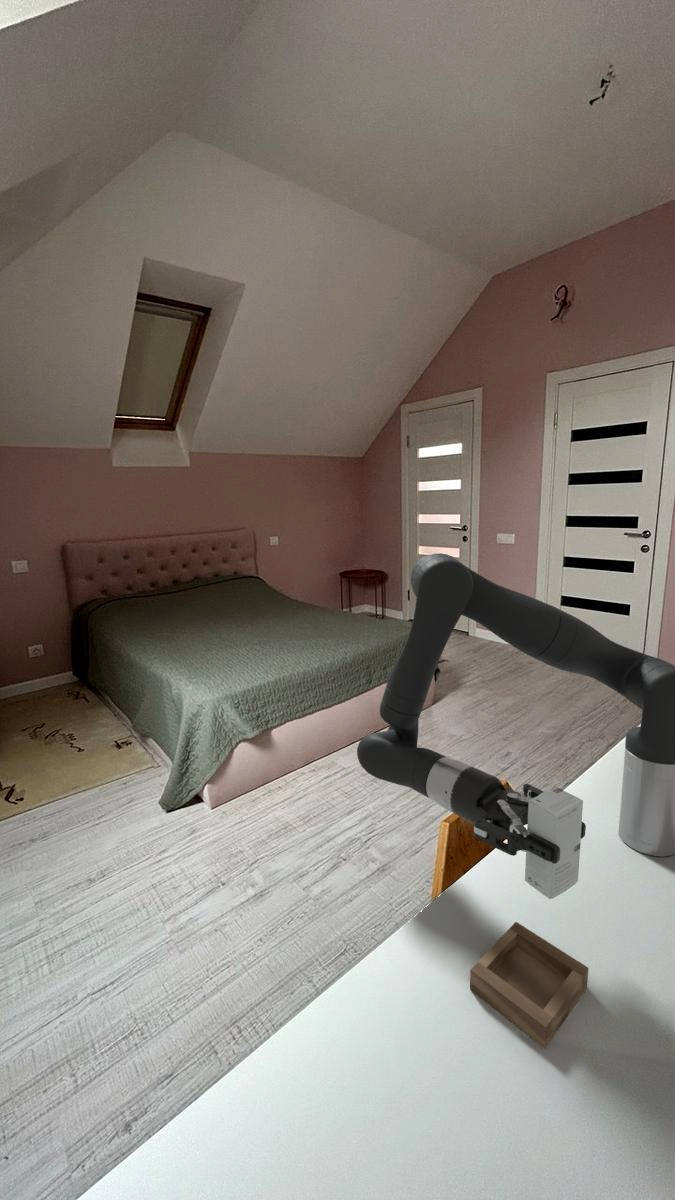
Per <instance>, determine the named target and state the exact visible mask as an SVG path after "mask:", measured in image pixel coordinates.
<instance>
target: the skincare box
mask: <svg viewBox="0 0 675 1200" xmlns="http://www.w3.org/2000/svg"><path fill="white" fill-rule="evenodd" d="M583 804H584V800H583V799H581V798H580V797H578V796H575V795H573V794H571V793H569V792H567V791H565V790H563V789H561V788H559V787H554V788H552V789H550V790H547V791H543V793H541V794H539V796H537V797H535V798H533V799H531V800H529V805H528V824H526V825H527V828H526V829H527V830H528V831H529V833H530V835H531V834H532V833H534V834H536V835H538V836H540V837H542V838H544V839H546V840H548V841H550V842H552V843H554V844H556V845H557V846H559V848H560V860H559V861H558V862H557V863H556V864H554V863H552V862H550V861H546V860H544V859H542V858H540V857H539V856H537V855H535V854H533V853H531V852H529V851H527V852H525V868H524V869H525V870H524V871H525V872H524V881H525V882H526V883H527V884H528V885H530V886H531V887H532V888H533V889H535V890H536V891H538V892H539V893H540V894H541V895H543V896H545V897H546V898H547V899H549V900H551V899H553V900H554V898H557V897H558V896H560V895H562V894H564V893H565V892H566V891H568V890H569V889H571V888H572V887H573V886H575V885H577V883H578V882H579V875H580V874H579V873H580V871H579V869H580V856H581V844H582V843H581V841H582V839H581V826H582V822H583V809H584V808H583V806H584V805H583Z"/></svg>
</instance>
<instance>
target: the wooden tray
mask: <svg viewBox="0 0 675 1200" xmlns="http://www.w3.org/2000/svg"><path fill="white" fill-rule="evenodd" d="M589 970H590V969H589V967H588V966H587V965H585V964H584V963H582V962H580V961H578V960H577V959H575V958H574V957H572V956H571V955H569V954H567V953H566V952H565V951H563V950H561V949H560V948H559V947H557V946H555V945H553V944H552V943H550V942H549V941H547V940H546V939H544V938H542V937H541V936H540V935H538V934H536V933H535V932H533V931H532V930H530V929H528V928H527V927H526V926H524V925H522V924H520V923H519V922H517V921H514V923H513V924H512V925H511V926H510V927H509V929H507V930H506V932H505V933H504V934H503V935H502V936H501V937H500V938H499V939H498V940H497V941H495V943H494V944H493V945H492V946H491V947H490V949H488V950H487V952H485V954H484V955H482V957H480V958H479V960H478V961H477V962H476V963H475V964H474V965H473V966H472V967H471V968H470V971H469V972H470V973H469V975H470V976H469V990H471V992H473V994H475V995H476V996H478V997H479V998H480V999H482V1000H483V1001H484V1002H485V1003H487V1004H488V1005H489V1006H491V1007H492V1008H493V1009H494V1011H497V1012H498V1013H499V1014H500V1015H501V1016H503V1017H504V1018H505V1019H506V1020H508V1022H510V1023H512V1024H513V1025H514V1026H516V1028H517V1029H519V1030H520V1031H521V1032H523V1033H524V1034H525V1035H527V1036H528V1037H529V1038H530V1039H531V1040H533V1042H535V1043H536V1044H537V1045H539V1046H540V1047H541V1048H542V1049H544V1050H546V1049H547V1047H548V1045H549V1044H550V1043H551V1041H552V1040H553V1038H554V1036H555V1035H556V1034H557V1032H558V1031H559V1030H560V1028H561V1027H562V1025H563V1024H564V1022H565V1021H566V1020H567V1018H568V1016H569V1014H570V1013H571V1012H572V1011H573V1009H574V1007H575V1006H576V1005H577V1003H578V1002H579V1000H580V999H581V998H582V996H583V994H584V993H585V992H586V990H587V988H588V982H589V981H588V980H589Z"/></svg>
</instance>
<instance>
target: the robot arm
mask: <svg viewBox="0 0 675 1200" xmlns="http://www.w3.org/2000/svg"><path fill="white" fill-rule="evenodd" d="M410 585H411V589H412V592H413V595H415V597H416V601H415V607H414V613H413V618H412V619H413V620H412V624H411V627H410V630H409V633H408V637H407V639H406V641H405V643H404V646H403V648H402V649H401V652H400V654H399V655H398V658H397V660H396V661H395V663H394V665H393V667H392V669H391V672H390V675H389V677H388V680H387V683H386V687H385V688H384V689H385V690H384V692H383V696H382V699H381V703H380V705H379V716H380V717H381V719H382V720H383V721H384V722H385V723H386V724H388V729H387V730H386V731H380V732H379V731H378V732H373V733H369V734H367V735H365V736H364V737H362V739H360V741H359V743H358V745H357V749H356V754H357V759H358V763H359V764H360V766H361V768H362V769H363V770H364V771H365V772H366V773H367V774H370V776H372V777H374V778H376V779H379V780H381V781H385V782H388V783H391V784H394V785H395V784H396V785H397V786H403V787H407V788H410V789H413V790H414V791H415V792H417V793H418V794H421V795H422V796H424V797H426V798H428V799H430V800H431V801H433V802H435V804H437V805H438V806H440V807H442V808H443V809H444V810H447V811H448V812H450V813H452V814H454V815H457V817H460V818H462V819H463V820H465V821H466V822H469V823H471V824H472V825H473V837H474V839H476V840H478V841H479V842H482V843H485V844H486V845H488V846H491V847H493V848H495V849H497V850H498V851H501V852H503V853H506V855H507V854H508V855H509V856H517V854H518V852H519V851H521V852H525V853H526V852H527V851H529V852H531V853H533V854H535V855H537V856H539V857H540V858H542V859H544V860H546V861H550V862H552V863H554V864H556V863H557V862H558V861H559V860H560V848H559V846H557V845H556V844H554V843H552V842H550V841H548V840H546V839H544V838H542V837H540V836H538V835H536V834H534V833H532V834H531V835H530V833H529V831H528V830H527V828H526V827H525V826H526V825H528V805H529V800H531V799H533V798H535V797H537V796H539V794H541V793H543V792H544V790H541V789H540V788H537V787H535V786H534V785H532V784H529V783H524V784H523V786H522V790H521V791H515V790H510V789H507V788H506V787H504V785H503V783H502V782H501V780H500V779H499V778H498V777H496V776H495V775H492V774H490V773H488V772H485V771H483V770H481V769H478V768H477V767H474V766H472V765H470V764H467V763H465V762H463V761H461V760H458V759H455V758H450V757H448V756H446V755H444V754H441V753H439V752H437V751H434V750H432V749H429V748H426V747H418V742H419V741H418V739H419V738H418V737H419V719H420V717H421V714H422V711H423V708H424V706H425V701H426V699H427V696H428V693H429V689H430V688H431V685H432V681H433V678H434V676H435V672H436V670H437V667H438V664H439V661H440V660H441V657H442V655H443V652H444V650H445V648H446V645H447V643H448V641H449V639H450V637H451V635H452V633H453V631H454V629H455V628H456V625H457V623H458V622H459V620H460V618H461V617H462V616H464V617H466V618H468V619H470V620H472V621H474V622H476V623H478V624H480V625H481V626H483V627H484V628H486V629H487V630H488V631H490V632H491V633H493V634H494V635H496V636H497V637H498V638H500V639H501V640H502V641H504V642H505V643H507V644H508V645H510V646H512V647H514V648H515V649H517V650H519V651H520V652H521V653H523V654H526V655H527V656H529V657H531V658H533V659H535V660H537V661H539V662H541V663H544V664H546V665H548V666H550V667H553V668H556V669H558V670H561V671H563V672H567V673H572V674H577V675H581V676H586V677H588V678H589V677H590V678H591V679H593V680H595V681H598V682H600V683H602V684H603V685H605V686H606V687H608V688H610V689H611V690H614V691H615V692H616V693H618V694H620V695H621V696H623V697H624V698H625V699H627V700H628V701H629V702H630V703H632V704H633V705H634V706H636V707H637V708H638V709H641V711H642V712H641V713H642V714H641V720H640V726H634V727H632V728H630V729H629V730H628V731H627V732H626V735H625V741H624V742H625V745H624V758H623V759H624V760H623V773H622V784H621V797H620V809H619V810H620V811H619V820H618V836H619V838H620V839H621V841H623V843H625V844H626V845H627V846H628V847H630V848H631V849H633V850H635V851H637V852H640V853H642V854H645V855H649V856H654V857H669V856H673V855H674V854H675V665H674V664H672V663H670V662H668V661H666V660H663V658H662V659H661V658H659V657H655V656H652V655H650V654H646V653H644V652H643V653H642V652H640V651H637V650H635V649H631V648H628V647H626V646H624V645H622V644H619V643H617V642H615V641H613V640H611V639H609V638H608V637H606V636H605V635H604V634H602V633H601V632H600V631H598V630H597V629H595V628H594V627H593V626H591V625H590V624H588V623H586V622H585V621H583V620H581V619H579V618H578V617H576V616H574V615H572V614H570V613H567V612H566V611H563V610H562V609H560V608H557V607H556V606H553V605H551V604H548V603H547V602H544V601H542V600H539V599H536V598H534V597H532V596H528V595H526V594H524V593H522V592H521V593H520V592H518V591H515V590H512V589H510V588H507V587H504V586H502V585H499V584H497V583H495V582H493V581H492V580H489V579H487V578H486V577H484V576H482V575H481V574H479V573H478V572H475V570H472V569H471V568H469V567H468V566H466V565H464V563H462V562H461V561H460V560H458V559H457V558H455V557H454V556H452V555H450V554H446V553H431V554H427V555H425V556H423V557H421V558H420V559H419V560H417V562H416V563H415V564H414V565H413V568H412V570H411V574H410ZM586 825H587V824H586V823H585V822H583V821H582V826H581V840H582V839H584V837H585V836H586V830H587V829H586V828H587V826H586ZM501 838H502V839H504V840H506V841H507V843H506V842H504V841H502V840H501Z"/></svg>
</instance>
